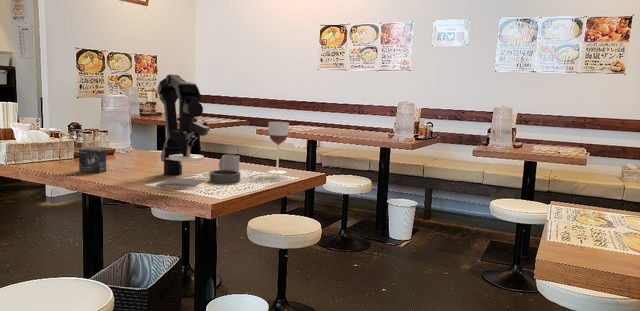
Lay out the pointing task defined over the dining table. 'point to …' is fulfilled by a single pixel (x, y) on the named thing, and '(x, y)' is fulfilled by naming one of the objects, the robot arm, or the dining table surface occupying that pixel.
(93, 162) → the box
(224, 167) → the cup
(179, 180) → the mat
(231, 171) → the bowl
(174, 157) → the lid
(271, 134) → the wineglass
